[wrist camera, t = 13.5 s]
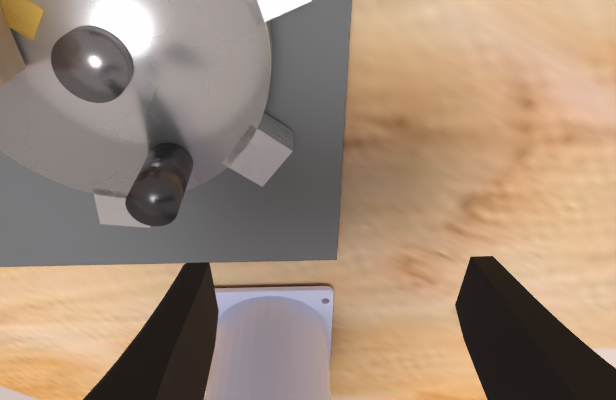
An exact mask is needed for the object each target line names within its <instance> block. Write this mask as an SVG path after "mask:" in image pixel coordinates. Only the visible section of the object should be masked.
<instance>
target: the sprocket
mask: <svg viewBox="0 0 616 400" xmlns="http://www.w3.org/2000/svg"><path fill="white" fill-rule="evenodd" d="M311 1H312V0H0V5H1V8H2V10H3V13H4V15H5V17H6V20H7V22H8V25H9V27H10V29H11V32H12V34H13V37H14V39H15V41H16V44H17V46H18V49H19V51H20V54H21V56H22V58H23V61H24V63H25V66H26V68H25V69H24V70H22V71H21V72H20V73H18V74H17V75H16V76H14V77H13V78H12V79H10V80H9V81H8V82H6V83H5V84H4V85H2V86H1V87H0V151H1V152H3V153H4V154H6V155H7V156H9V157H10V158H12V159H13V160H15V161H16V162H18V163H20V164H21V165H23V166H24V167H26V168H28V169H30V170H32V171H34V172H36V173H38V174H40V175H41V176H43V177H46V178H48V179H50V180H53V181H55V182H57V183H60V184H62V185H65V186H68V187H71V188H74V189H77V190H81V191H84V192H89V193H93V194H94V197H95V202H96V207H97V212H98V216H99V221H100V224H106V225H119V226H132V227H145V228H150V227H151V226H157V227H158V226H165V225H167V224H170V223H171V222H173V221H174V220H175V218H176V217H177V214H178V211H179V208H180V205H181V202H182V199H183V196H184V193H185V191H186V190H189V189H192V188H194V187H197V186H199V185H201V184H203V183H205V182H207V181H209V180H210V179H212V178H214V177H215V176H217V175H218V174H220V173H221V172H222V171H224V170H225V169H226V168H227V167H229V168H231V169H232V170H234V171H236V172H237V173H239V174H241V175H243V176H244V177H246V178H248V179H250V180H251V181H253V182H255V183H257V184H258V185H260V186H262V187H263V186H264V185H265V183H266V182H267V181H268V180H269V179H270V177H271V176H272V175H273V174H274V173H275V172H276V170H277V169H278V168H279V167H280V166H281V164H282V163H283V162H284V161H285V160H286V159H287V157H288V156H289V155H290V154H291V153H292V152H293V131H292V130H290V129H288V128H287V127H285V126H284V125H282V124H281V123H279V122H278V121H276V120H275V119H273V118H272V117H270V116H269V115H267V114H266V113H264V110H265V107H266V103H267V99H268V92H269V86H270V78H271V69H272V38H271V29H270V22H269V20H271V19H273V18H275V17H278V16H280V15H282V14H284V13H286V12H289V11H291V10H293V9H295V8H297V7H300V6H302V5H304V4H306V3H308V2H311Z"/></svg>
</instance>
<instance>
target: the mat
mask: <svg viewBox="0 0 616 400" xmlns="http://www.w3.org/2000/svg"><path fill="white" fill-rule="evenodd" d="M351 5H352V0H312V1H311V2H308V3H306V4H304V5H302V6H300V7H297V8H295V9H293V10H291V11H289V12H286V13H284V14H282V15H280V16H278V17H275V18H273V19H271V20H269V22H270V29H271V38H272V69H271V78H270V86H269V92H268V99H267V103H266V107H265V110H264V113H266V114H267V115H269V116H270V117H272V118H273V119H275V120H276V121H278V122H279V123H281V124H282V125H284V126H285V127H287V128H288V129H290V130H292V131H293V152H292V153H291V154H290V155H289V156H288V157H287V159H286V160H285V161H284V162H283V163H282V164H281V166H280V167H279V168H278V169H277V170H276V172H275V173H274V174H273V175H272V176H271V177H270V179H269V180H268V181H267V182H266V183H265V185H264V186H263V187H262V186H260V185H258V184H257V183H255V182H253V181H251V180H250V179H248V178H246V177H244V176H243V175H241V174H239V173H237V172H236V171H234V170H232V169H231V168H229V167H227V168H226V169H225V170H224V171H222V172H221V173H220V174H218V175H217V176H215V177H214V178H212V179H210V180H209V181H207V182H205V183H203V184H201V185H199V186H197V187H194V188H192V189H189V190H186V191H185V193H184V196H183V199H182V202H181V205H180V208H179V211H178V214H177V217H176V218H175V220H174V221H173V222H171V223H170V224H167V225H165V226H158V227H157V226H151V227H150V228H145V227H132V226H119V225H106V224H100V221H99V216H98V212H97V207H96V202H95V197H94V194H93V193H89V192H84V191H81V190H77V189H74V188H71V187H68V186H65V185H62V184H60V183H57V182H55V181H53V180H50V179H48V178H46V177H43V176H41V175H40V174H38V173H36V172H34V171H32V170H30V169H28V168H26V167H24V166H23V165H21V164H20V163H18V162H16V161H15V160H13V159H12V158H10V157H9V156H7V155H6V154H4V153H3V152H1V151H0V267H21V266H68V265H115V264H162V263H200V262H209V263H210V262H257V261H304V260H337V245H338V228H339V210H340V193H341V176H342V159H343V142H344V125H345V107H346V90H347V73H348V56H349V39H350V22H351Z"/></svg>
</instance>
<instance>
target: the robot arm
mask: <svg viewBox="0 0 616 400" xmlns="http://www.w3.org/2000/svg"><path fill="white" fill-rule="evenodd" d="M324 298H327V299H324ZM333 298H334V293H333V289H332V288H331V287H329V286H297V287H253V288H214V284H213V279H212V274H211V269H210V264H209V262H200V263H186V264H185V265H184V266H183V267H182V269H181V271H180V272H179V274H178V276H177V277H176V279H175V281H174V282H173V284H172V285H171V287H170V289H169V290H168V292H167V293H166V295H165V296H164V298H163V299H162V301H161V302H160V304H159V305H158V307H157V308H156V310H155V311H154V312H153V314H152V315H151V317H150V318H149V320H148V321H147V322H146V324H145V325H144V327H143V328H142V329H141V331H140V332H139V333H138V335H137V336H136V337H135V339H134V340H133V341H132V342H131V344H130V345H129V346H128V348H127V349H126V350H125V351H124V353H123V354H122V355H121V357H120V358H119V359H118V360H117V361H116V363H115V364H114V365H113V366H112V367H111V369H110V370H109V371H108V372H107V373H106V375H105V376H104V377H103V378H102V379H101V380H100V381H99V383H98V384H97V385H96V386H95V387H94V388H93V389H92V390H91V391H90V392H89V394H88V395H87V396H86V397H85V398H84V399H83V400H203V399H204V395H205V390H206V385H207V390H206V396H205V400H331V392H330V379H329V369H330V351H331V333H332V316H333ZM455 306H456V310H457V314H458V318H459V322H460V326H461V330H462V334H463V337H464V341H465V343H466V346H467V349H468V351H469V354H470V356H471V359H472V361H473V364H474V367H475V369H476V372H477V374H478V377H479V379H480V382H481V384H482V387H483V389H484V392H485V394H486V397H487V399H488V400H616V369H615V368H614V367H613V366H612V365H610V364H609V363H607V362H606V361H605V360H604V359H603V358H601V357H600V356H599V355H598V354H597V353H595V352H594V351H593V350H592V349H591V348H589V347H588V346H587V345H586V344H585V343H584V342H582V341H581V340H580V339H579V338H578V337H577V336H575V335H574V334H573V333H572V332H571V331H570V330H569V329H568V328H566V327H565V326H564V325H563V324H562V323H561V322H560V321H559V320H558V319H557V318H555V317H554V316H553V315H552V314H551V313H550V312H549V311H548V310H547V309H546V308H545V307H544V306H543V305H542V304H541V303H540V302H539V301H537V300H536V299H535V298H534V297H533V296H532V295H531V294H530V293H529V292H528V291H527V290H526V289H525V288H524V287H523V286H522V285H521V284H520V283H519V282H518V281H517V280H516V279H515V278H514V277H513V276H512V275H511V274H510V273H509V272H508V271H507V270H506V269H505V268H504V267H503V266H502V265H501V264H500V263H499V262H498V261H497V260H496V259H495V258H494V257H493V256H484V257H471V258H470V261H469V264H468V267H467V270H466V273H465V276H464V280H463V283H462V286H461V289H460V292H459V295H458V298H457V301H456V304H455ZM208 376H209V378H208ZM207 381H208V384H207Z"/></svg>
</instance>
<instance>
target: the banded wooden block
mask: <svg viewBox="0 0 616 400" xmlns="http://www.w3.org/2000/svg"><path fill="white" fill-rule="evenodd" d="M25 68H26V66H25V63H24V61H23V58H22V56H21V54H20V51H19V49H18V46H17V44H16V41H15V39H14V37H13V34H12V32H11V29H10V27H9V25H8V22H7V20H6V17H5V15H4V13H3V10H2V8H1V5H0V87H1V86H2V85H4V84H5V83H6V82H8V81H9V80H10V79H12V78H13V77H14V76H16V75H17V74H18V73H20V72H21V71H22V70H24V69H25Z"/></svg>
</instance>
